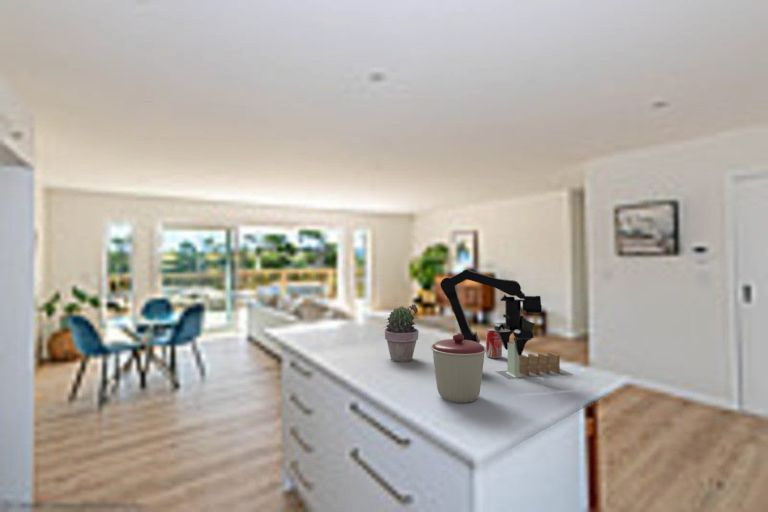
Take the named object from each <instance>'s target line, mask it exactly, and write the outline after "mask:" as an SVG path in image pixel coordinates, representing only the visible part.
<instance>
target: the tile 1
mask: <svg viewBox="0 0 768 512" xmlns="http://www.w3.org/2000/svg"><path fill="white" fill-rule="evenodd" d="M507 371H508V373H510V374H511V375H513V376H519V355H518V353H517V349H516V345H515V342H512V341H509V342H508V350H507Z"/></svg>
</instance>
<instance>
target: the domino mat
mask: <svg viewBox="0 0 768 512" xmlns="http://www.w3.org/2000/svg"><path fill="white" fill-rule="evenodd" d="M494 372H495V373H496V374H498V375H500V376H502V377H504V378H506V379H507V380H518V379H532V378H533V379H534V378H545V377H555V376H557V377H558V376H568V375H569V376H570V375H573V373H572V372H569V371H567V370H564V369H562V368H560V373H554V372H552V371H550V374H545V373H543V372H541V371H540V375H535V374H533V373H531V372H529V375H528V376H525V375H523V374H521V373H519V376H513V375H511V374H510V373H508V370H498V371H497V370H496V371H494Z"/></svg>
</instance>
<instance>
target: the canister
mask: <svg viewBox="0 0 768 512" xmlns="http://www.w3.org/2000/svg"><path fill="white" fill-rule="evenodd" d="M463 339H464V336H463V335H462V333H461V332H456V333H454V334H453V336H452V338H451V339H449V338H447V339H443V340H438V341H436V342H435V343H433V344H431V345H430V350H432V358H433V367H434V375H435V381H436V389H437V392H438V395H439V396H440V397H441V398H442V399H443V400H445V401H449V402H451V403H459V404H461V403H463V404H465V403H466V404H467V403H471V402H474V401H476V400H477V399H478V398H479V396H480V394H481V387H482V379H483V373H484V372H483V370H484V362H485V354H486V351H487V349H486V346H484V345H483V344H482V343H481V342H480V343H478V342H475V341H470V340H463Z"/></svg>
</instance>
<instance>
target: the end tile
mask: <svg viewBox="0 0 768 512" xmlns="http://www.w3.org/2000/svg"><path fill="white" fill-rule="evenodd" d="M547 355H548V356H550V371H552V372H554V373H560V369H561V368H560V366H561V365H560V364H561V363H560V359H561V358H560V354H557V353H554V352H552V351H550V352H547Z"/></svg>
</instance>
